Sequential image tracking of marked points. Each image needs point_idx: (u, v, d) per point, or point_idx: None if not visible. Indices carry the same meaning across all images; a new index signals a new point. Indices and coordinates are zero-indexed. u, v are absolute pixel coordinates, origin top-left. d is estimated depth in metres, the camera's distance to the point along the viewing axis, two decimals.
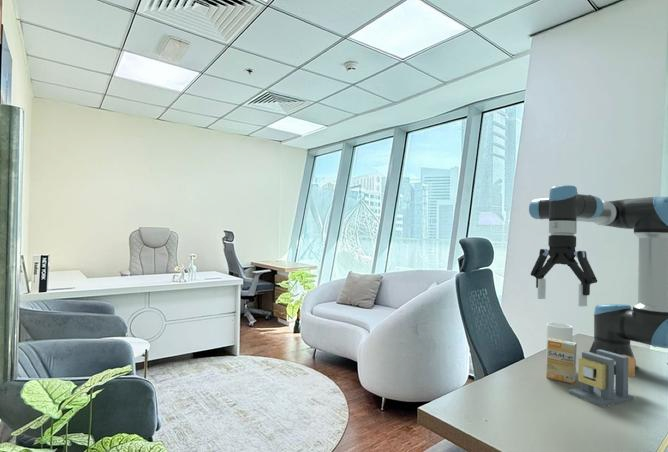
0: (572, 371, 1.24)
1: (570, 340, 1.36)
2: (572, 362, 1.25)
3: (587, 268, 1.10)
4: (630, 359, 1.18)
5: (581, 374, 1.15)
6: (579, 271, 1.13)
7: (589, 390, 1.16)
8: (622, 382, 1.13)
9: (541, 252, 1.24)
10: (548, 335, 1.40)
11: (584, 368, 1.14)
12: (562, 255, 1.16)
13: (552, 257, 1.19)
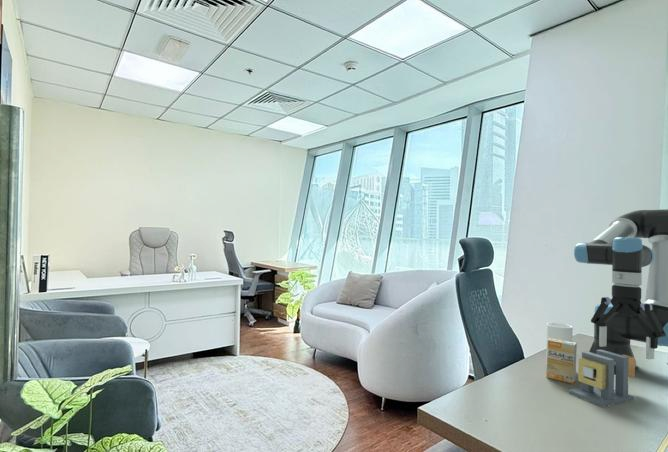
0: (572, 371, 1.24)
1: (570, 340, 1.36)
2: (572, 362, 1.25)
3: (655, 322, 1.12)
4: (630, 359, 1.18)
5: (581, 374, 1.15)
6: (646, 324, 1.15)
7: (589, 390, 1.16)
8: (622, 382, 1.13)
9: (603, 300, 1.26)
10: (548, 335, 1.40)
11: (584, 368, 1.14)
12: (627, 306, 1.18)
13: (616, 307, 1.21)
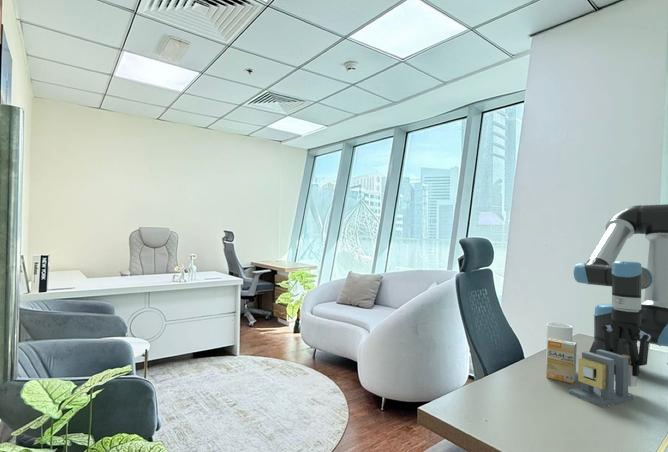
0: (572, 371, 1.24)
1: (570, 340, 1.36)
2: (572, 362, 1.25)
3: (644, 353, 1.15)
4: (630, 359, 1.18)
5: (581, 374, 1.15)
6: (635, 352, 1.17)
7: (589, 390, 1.16)
8: (622, 382, 1.13)
9: (604, 329, 1.25)
10: (548, 335, 1.40)
11: (584, 368, 1.14)
12: (627, 331, 1.18)
13: (617, 332, 1.21)
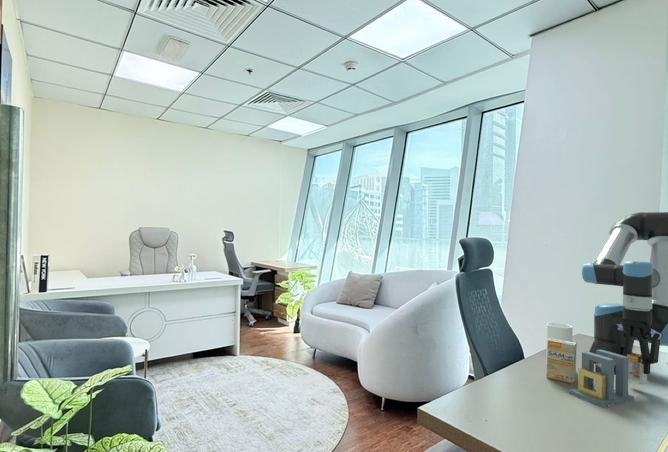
0: (572, 371, 1.24)
1: (570, 340, 1.36)
2: (572, 362, 1.25)
3: (655, 351, 1.17)
4: (641, 357, 1.21)
5: (581, 384, 1.15)
6: (646, 350, 1.20)
7: None
8: (622, 382, 1.13)
9: (615, 328, 1.27)
10: (548, 335, 1.40)
11: (596, 366, 1.16)
12: (638, 330, 1.20)
13: (629, 331, 1.23)
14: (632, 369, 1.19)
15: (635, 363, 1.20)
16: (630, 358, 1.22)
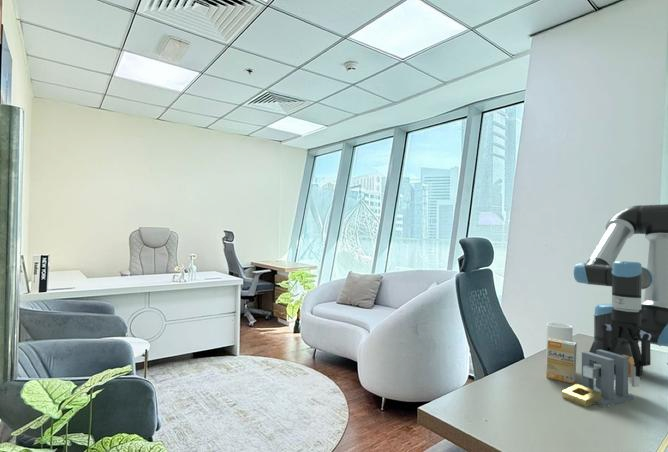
0: (572, 371, 1.24)
1: (570, 340, 1.36)
2: (572, 362, 1.25)
3: (646, 352, 1.14)
4: (630, 359, 1.18)
5: None
6: (637, 352, 1.17)
7: None
8: (622, 382, 1.13)
9: (604, 328, 1.25)
10: (548, 335, 1.40)
11: (584, 368, 1.14)
12: (627, 331, 1.18)
13: (617, 332, 1.21)
14: None
15: None
16: None
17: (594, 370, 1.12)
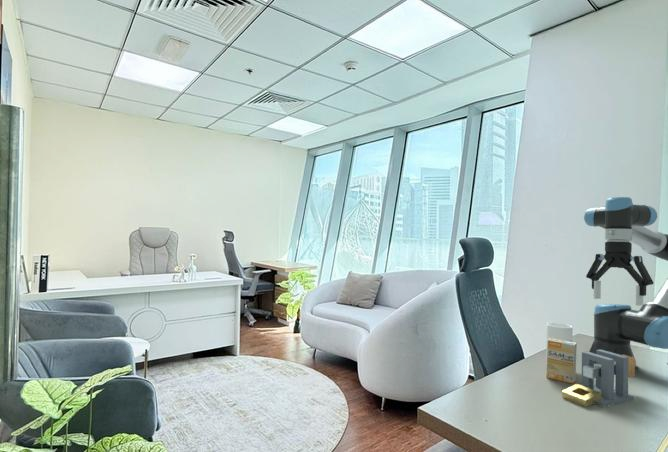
0: (572, 371, 1.24)
1: (570, 340, 1.36)
2: (572, 362, 1.25)
3: (644, 271, 1.24)
4: (630, 359, 1.18)
5: None
6: (636, 274, 1.26)
7: None
8: (622, 382, 1.13)
9: (597, 256, 1.37)
10: (548, 335, 1.40)
11: (584, 368, 1.14)
12: (619, 259, 1.30)
13: (609, 261, 1.33)
14: None
15: None
16: None
17: (594, 370, 1.12)
